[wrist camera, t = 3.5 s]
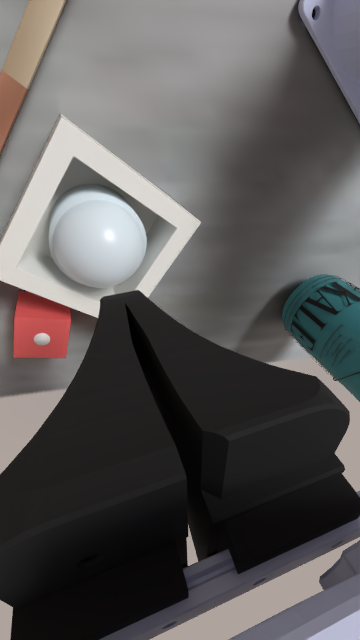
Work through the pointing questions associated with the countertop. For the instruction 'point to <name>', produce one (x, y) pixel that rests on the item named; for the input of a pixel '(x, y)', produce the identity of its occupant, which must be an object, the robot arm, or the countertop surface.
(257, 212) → the countertop surface
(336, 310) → the beverage bottle
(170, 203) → the dome housing
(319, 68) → the countertop surface
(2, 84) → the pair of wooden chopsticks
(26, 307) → the red die
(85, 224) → the dome
